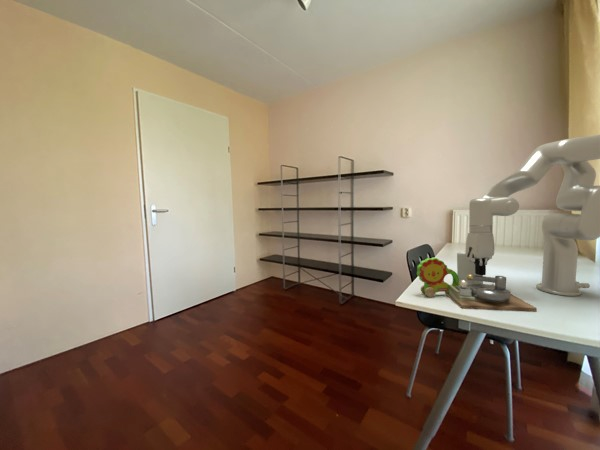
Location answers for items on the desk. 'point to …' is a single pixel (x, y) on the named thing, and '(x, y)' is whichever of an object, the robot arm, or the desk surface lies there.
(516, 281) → the desk surface
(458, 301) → the stand
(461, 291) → the block with glass ball
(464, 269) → the skincare box
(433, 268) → the toy lion
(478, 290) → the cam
